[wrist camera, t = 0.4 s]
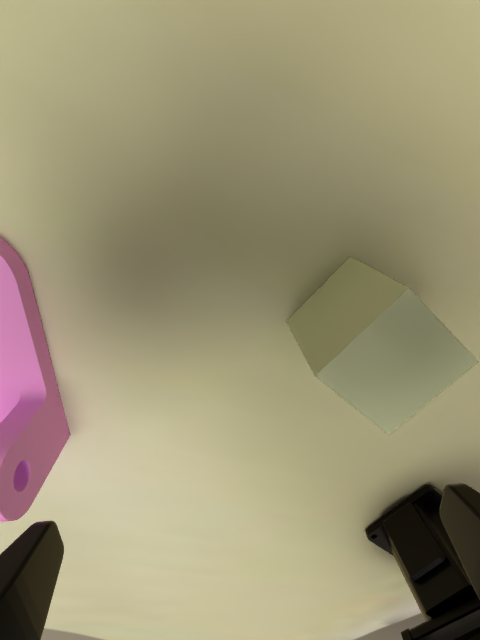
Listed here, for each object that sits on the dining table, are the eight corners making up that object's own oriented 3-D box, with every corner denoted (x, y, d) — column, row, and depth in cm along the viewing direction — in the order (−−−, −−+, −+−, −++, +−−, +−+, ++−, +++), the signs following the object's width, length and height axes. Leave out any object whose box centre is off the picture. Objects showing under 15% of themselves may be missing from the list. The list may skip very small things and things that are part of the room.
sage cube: (405, 311, 20) (478, 361, 14) (342, 369, 21) (388, 435, 16) (350, 256, 19) (409, 288, 13) (286, 321, 20) (315, 376, 14)
